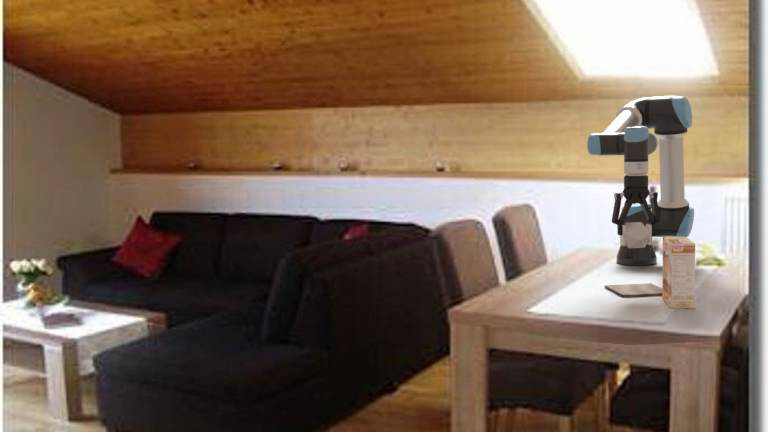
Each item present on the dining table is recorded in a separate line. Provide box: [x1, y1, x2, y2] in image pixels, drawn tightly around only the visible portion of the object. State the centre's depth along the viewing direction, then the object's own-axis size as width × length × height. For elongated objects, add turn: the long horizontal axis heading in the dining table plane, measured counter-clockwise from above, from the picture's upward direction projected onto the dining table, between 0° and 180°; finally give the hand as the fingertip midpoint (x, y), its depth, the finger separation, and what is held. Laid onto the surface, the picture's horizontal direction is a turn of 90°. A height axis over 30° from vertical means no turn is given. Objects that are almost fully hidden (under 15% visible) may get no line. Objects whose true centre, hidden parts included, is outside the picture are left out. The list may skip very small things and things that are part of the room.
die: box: [624, 222, 651, 248], centre depth 261 cm, size 8×9×10 cm
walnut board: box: [604, 283, 663, 298], centre depth 263 cm, size 16×16×1 cm
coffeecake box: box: [661, 236, 696, 309], centre depth 244 cm, size 15×7×20 cm, turn 170°
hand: (635, 244), depth 262 cm, fingers closed on die, 8 cm apart
